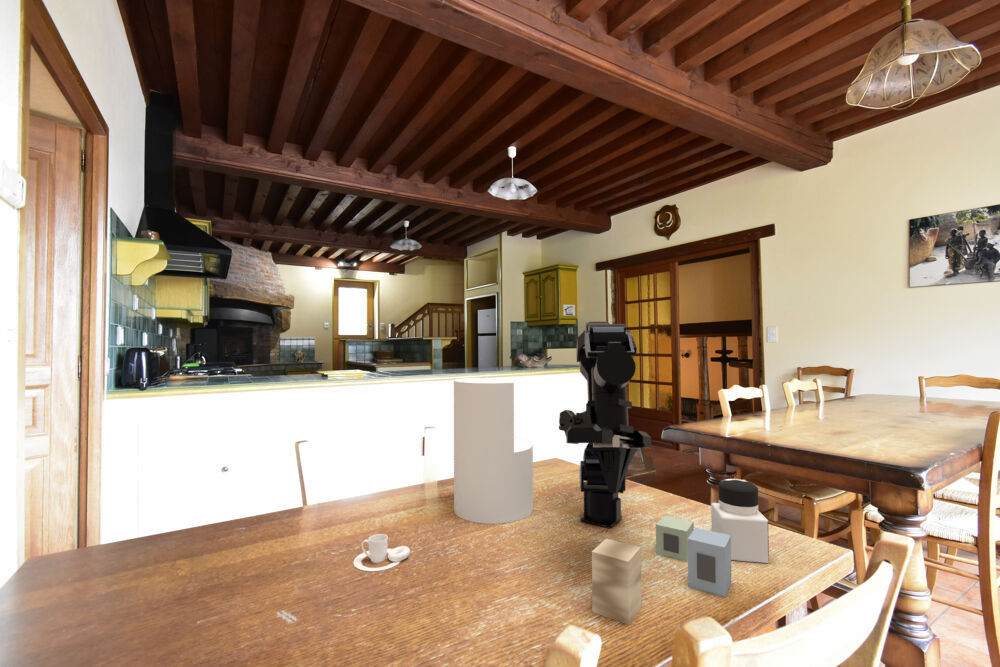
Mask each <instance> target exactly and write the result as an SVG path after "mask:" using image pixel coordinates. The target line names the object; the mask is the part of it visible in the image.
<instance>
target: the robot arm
mask: <svg viewBox="0 0 1000 667" xmlns="http://www.w3.org/2000/svg"><path fill="white" fill-rule="evenodd" d="M637 350H638V348H637V345H636V342H635V339H634V337H633V335H632V334H631V330H629V329H627V325H626V324H625V323H610V322H607V321H589V322H585V328H584V330H583V331H582V332H581V334H580V335H578V337H577V338H576V356H575V357H576V362H577V363H579V372H580V374H581V375H582V376H583V377H584V379H585V381H586V384H587V385H586V386H587V403H585V411H582V412H576V413H575V412H574V411H573V410H569V409H565V410H562V411H561V412H559V419H558V424H559V426H558V429H559V431H563V432H564V435H565V437H566V438H565V439H566V444H574V445H579V444H587V445H586V446H585V448H584V450H583V456H582V457H583V458H582V460H580V463H579V489H580V492H581V493H583V516H581V517H580V519H579V520H580V521H581V522H585V523H587V524H588V523H589V524H592V525H596V526H600V527H603V528H604V527H605V528H612V527H613V526H615V525H616V524H617V523H618V522H620V520H622V518H623V517H622V499H621V497H619V494H624V492H625V491H626V490H627V489H626V482H627V481H626V480H627V473H628V469H629V467H630V464H631V462H632V459H633V458H634V455H635V454H636V453H638V449H652V437H651V436H650V435H649V434H648V433H647V432H646V431H642V430H634V426H632V425H629V411H628V409H632V408H633V402H632V401H630V400H628V394H627V393H628V392H627V390H628V389H627V385H628V384H629V382H630V381H631V380H632V378H633V377H634V376H635V372H636V370H637V368H636V362H635V360H634V357H635V355H637ZM584 481H585V482H584Z"/></svg>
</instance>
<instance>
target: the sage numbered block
mask: <svg viewBox="0 0 1000 667" xmlns="http://www.w3.org/2000/svg"><path fill="white" fill-rule="evenodd" d="M694 526H695V522H694V521H692V520H687V519H682V518H678V517H673V516H668V515H663V516H662V517H661V519H660V520H658V522H657V523H655V553H656V554H657V555H660V556H664V557H668V558H672V559H675V560H680V561H683V562H688V538H689V536H690V535H691V533H692V532H693V530H694V529H695V528H694Z"/></svg>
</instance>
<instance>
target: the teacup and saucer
mask: <svg viewBox="0 0 1000 667" xmlns="http://www.w3.org/2000/svg"><path fill="white" fill-rule="evenodd" d="M388 540H389V537H388V535H387V534H384V533H376V534H372V535H370V536H369V537H368V538H367V539H364V540H363V541H362V542H361V544H360V545H361V550H362V553H359V554H358V555H356V556H355V558H354V559H353V566H354V567H355V569H358V570H361V571H363V572H381V571H385V570H389V569H391V568H394V567H396V566H398V565H399V564H400V563H401V562H402V561H403V560H405V559H407V558H408V557H409V555H410V553H411V549H410V548H409V547H408V546H406V545H400V546H397V547H393V548H388ZM364 543H367V544H368V550H366V549H365V547H364ZM366 557H368V558H369V559H370V561H371V563H373V564H380V563H383V562H384V561H385V560H386V558H387V559H388V560H389V561H390V562H391V563H390V564H387V565H385V566H381V567H367V566H365V565H363V563H362V561H363V559H364V558H366Z"/></svg>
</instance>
